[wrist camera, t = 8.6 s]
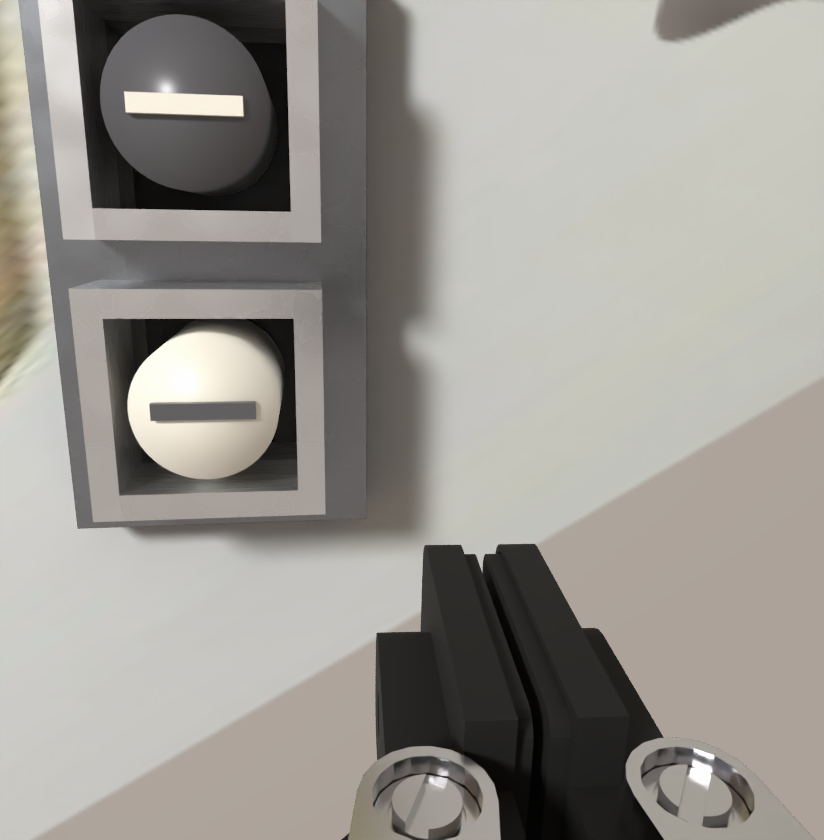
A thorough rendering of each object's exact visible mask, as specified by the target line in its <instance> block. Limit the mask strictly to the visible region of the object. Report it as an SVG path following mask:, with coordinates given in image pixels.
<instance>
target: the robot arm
mask: <svg viewBox="0 0 824 840" xmlns="http://www.w3.org/2000/svg"><path fill="white" fill-rule="evenodd" d="M376 744H377V761H376V762H375V763H374V764H373V765H372V766H371V767H370V768H369V769H368V770H367V771H366V772H365V774H364V775H363V777H362V780H361V782H360V785H359V787H358V790H357V794H356V800H355V805H354V811H353V816H352V821H351V827H350V832H349V834H348V835H346V836H345V837H344V838H343V839H342V840H815V839H814V838H813V837H812V836H811V835H810V833H809V832H808V831H807V830H806V829H805V828H804V827H803V826H802V825H801V823H800V822H799V821H798V820H797V819H796V818H795V817H794V816H793V815H792V814H791V813H790V811H789V810H788V809H787V808H786V807H785V806H784V805H783V804H782V803H781V802H780V801H779V799H778V798H777V797H776V796H775V795H774V794H773V793H772V792H771V791H770V790H769V789H768V788H767V786H766V785H765V784H764V783H763V782H762V781H761V780H760V779H759V778H758V776H756V774H754V773H753V772H752V771H751V770H750V769H749V768H748V767H746V766H745V765H744V764H743V763H742V762H741V761H740V760H738V759H736V758H735V757H733V756H731V755H730V754H728V753H726V752H724V751H722V750H721V749H719V748H716V747H713V746H711V745H708V744H705V743H702V742H700V741H695V740H690V739H684V738H664V737H663V736H662V734H661V732H660V731H659V729H658V727H657V726H656V724H655V722H654V720H653V719H652V717H651V715H650V714H649V712H648V710H647V709H646V707H645V705H644V704H643V702H642V700H641V699H640V697H639V695H638V693H637V692H636V690H635V688H634V687H633V685H632V683H631V682H630V680H629V678H628V676H627V675H626V673H625V671H624V670H623V668H622V666H621V664H620V663H619V661H618V659H617V658H616V656H615V655H614V653H613V651H612V649H611V648H610V646H609V644H608V643H607V641H606V639H605V637H604V636H603V634H602V633H601V632H600V631H599V630H598V629H596V628H581V626H580V625H579V623H578V621H577V619H576V617H575V615H574V613H573V612H572V610H571V608H570V606H569V604H568V603H567V601H566V599H565V597H564V595H563V593H562V592H561V590H560V588H559V586H558V584H557V582H556V581H555V579H554V577H553V575H552V573H551V571H550V570H549V568H548V566H547V564H546V562H545V560H544V559H543V557H542V555H541V553H540V551H539V550H538V548H537V546H536V545H535V544H500V545H498V546H497V549H496V554H485V556H484V560H483V573H482V571H481V568H480V566H479V563H478V560H477V557H476V555H475V554H464V552H463V549H462V546H461V545H425V547H424V553H423V576H422V607H421V632H391V633H377V637H376Z"/></svg>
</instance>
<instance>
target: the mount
mask: <svg viewBox="0 0 824 840" xmlns="http://www.w3.org/2000/svg"><path fill="white" fill-rule="evenodd" d="M18 1H19V10H20V19H21V28H22V37H23V46H24V55H25V64H26V72H27V81H28V90H29V99H30V108H31V117H32V126H33V135H34V144H35V153H36V161H37V170H38V179H39V188H40V197H41V206H42V215H43V224H44V233H45V242H46V250H47V259H48V268H49V277H50V286H51V295H52V304H53V313H54V322H55V331H56V339H57V348H58V357H59V366H60V375H61V384H62V393H63V402H64V411H65V420H66V429H67V437H68V446H69V455H70V464H71V473H72V482H73V491H74V500H75V509H76V518H77V526H78V529H80V528H109V527H137V526H166V525H194V524H223V523H251V522H280V521H309V520H337V519H366V0H18ZM170 14H182V15H190V16H195V17H199V18H203V19H205V20H208V21H210V22H213V23H215V24H216V25H218V26H220V27H222V28H224V29H225V30H226V31H228V32H229V33H230V34H232V35H233V36H234V37H235V38H236V39H237V40H238V41H239V42H249V43H270V44H286V46H287V84H288V122H289V160H290V198H291V212H274V211H218V210H162V209H136V201H135V189H134V176H133V167H132V166H131V165H130V164H129V163H128V162H127V160H126V159H125V158H124V157H123V156H122V155H121V153H120V152H119V151H118V149H117V148H116V146H115V145H114V143H113V141H112V139H111V138H110V136H109V133H108V131H107V128H106V126H105V123H104V119H103V116H102V110H101V104H100V85H101V77H102V73H103V69H104V66H105V64H106V61H107V58H108V56H109V55H110V53H111V51H112V49H113V47H114V46H115V45H116V44H117V42H118V41H119V40H120V39H121V38H122V37H123V36H124V35H125V34H126V33H127V32H128V31H129V30H131V29H132V28H133V27H135V26H136V25H138V24H140V23H142V22H144V21H146V20H148V19H151V18H154V17H157V16H163V15H170ZM145 319H294V351H295V389H296V427H297V442H271V443H270V445H269V446H268V448H267V449H266V451H265V452H264V453H263V454H262V456H261V457H260V458H259V459H258V460H257V461H255V462H254V463H253V464H252V465H250V466H249V467H247V468H246V469H244V470H242V471H240V472H238V473H236V474H233V475H230V476H228V477H223V478H218V479H195V478H189V477H185V476H182V475H179V474H176V473H174V472H171V471H169V470H168V469H166V468H164V467H162V466H161V465H159V464H158V463H157V462H155V461H154V460H153V459H152V458H151V457H150V456H149V455H148V454H147V453H146V452H145V451H144V450H143V448H142V447H141V446H140V444H139V442H138V441H137V439H136V437H135V435H134V433H133V431H132V428H131V425H130V422H129V416H128V394H129V389H130V386H131V383H132V380H133V378H134V376H135V374H136V372H137V371H138V369H139V367H140V366H141V365H142V363H143V362H144V361H145V360H146V359H147V358H148V352H147V339H146V327H145Z"/></svg>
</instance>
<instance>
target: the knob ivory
mask: <svg viewBox="0 0 824 840" xmlns="http://www.w3.org/2000/svg"><path fill="white" fill-rule="evenodd" d="M284 385H285V367H284V363H283V359H282V356H281V354H280V351H279V349H278V348H277V346H276V344H275V343H274V341H273V340H272V339H271V337H270V336H269V335H268V334H267V333H266V332H265V331H263V330H262V329H261V328H260V327H258V326H257V325H255V324H254V323H252V322H250V321H248V320H245V319H197V320H195V321H193V322H191V323H189V324H188V325H186V326H185V327H183V328H182V329H181V330H180V331H178V332H177V333H176V334H175V335H174V336H173V337H171V338H170V339H169V340H168V341H167V342H165V343H164V344H163V345H162V346H161V347H159V348H158V349H157V350H156V351H155V352H154V353H152V354H151V355H150V356H149V357H148V358H147V359H146V360H145V361H144V362H143V363H142V365H141V366H140V367H139V369H138V371H137V372H136V374H135V376H134V378H133V380H132V383H131V386H130V389H129V394H128V416H129V422H130V425H131V428H132V431H133V433H134V435H135V437H136V439H137V441H138V442H139V444H140V446H141V447H142V448H143V450H144V451H145V452H146V453H147V454H148V455H149V456H150V457H151V458H152V459H153V460H154V461H155V462H157V463H158V464H159V465H161V466H162V467H164V468H166V469H168V470H169V471H171V472H174V473H176V474H179V475H182V476H185V477H189V478H195V479H218V478H223V477H228V476H230V475H233V474H236V473H238V472H240V471H242V470H244V469H246V468H247V467H249V466H250V465H252V464H253V463H254V462H255V461H257V460H258V459H259V458H260V457H261V456H262V454H263V453H264V452H265V451H266V449H267V448H268V446H269V445H270V443H271V441H272V439H273V437H274V435H275V432H276V428H277V424H278V418H279V413H280V407H281V402H282V396H283V390H284Z"/></svg>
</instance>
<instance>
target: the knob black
mask: <svg viewBox="0 0 824 840" xmlns="http://www.w3.org/2000/svg"><path fill="white" fill-rule="evenodd" d="M100 104H101V110H102V116H103V119H104V123H105V126H106V128H107V131H108V133H109V136H110V138H111V139H112V141H113V143H114V145H115V146H116V148H117V149H118V151H119V152H120V153H121V155H122V156H123V157H124V158H125V159H126V160H127V162H128V163H129V164H130V165H131V166H132V167H134V168H135V169H136V170H137V171H138V172H140V173H141V174H143V175H144V176H146V177H147V178H149V179H150V180H152V181H154V182H156V183H158V184H161V185H164V186H166V187H169V188H174V189H178V190H183V191H188V192H193V193H198V194H203V195H209V196H224V195H229V194H233V193H236V192H239V191H242V190H244V189H246V188H247V187H249V186H250V185H252V184H253V183H255V182H256V181H257V180H258V179H259V178H260V177H261V176H262V175H263V173H264V172H265V171H266V170H267V168H268V166H269V165H270V163H271V161H272V158H273V156H274V153H275V150H276V146H277V139H278V125H277V118H276V113H275V109H274V107H273V104H272V101H271V98H270V96H269V93H268V90H267V87H266V85H265V82H264V79H263V77H262V74H261V72H260V70H259V68H258V66H257V64H256V62H255V60H254V59H253V57H252V56H251V54H250V53H249V52H248V50H247V49H246V48H245V47H244V46H243V44H242V43H241V42H239V41H238V40H237V39H236V38H235V37H234V36H233V35H232V34H230V33H229V32H228V31H226V30H225V29H224V28H222V27H220V26H218V25H216V24H215V23H213V22H210V21H208V20H205V19H203V18H199V17H195V16H190V15H182V14H170V15H163V16H157V17H154V18H151V19H148V20H146V21H144V22H142V23H140V24H138V25H136V26H135V27H133V28H132V29H131V30H129V31H128V32H127V33H126V34H125V35H124V36H123V37H122V38H121V39H120V40H119V41H118V42H117V44H116V45H115V46H114V47H113V49H112V51H111V53H110V55H109V56H108V58H107V61H106V64H105V66H104V69H103V73H102V77H101V85H100Z"/></svg>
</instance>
